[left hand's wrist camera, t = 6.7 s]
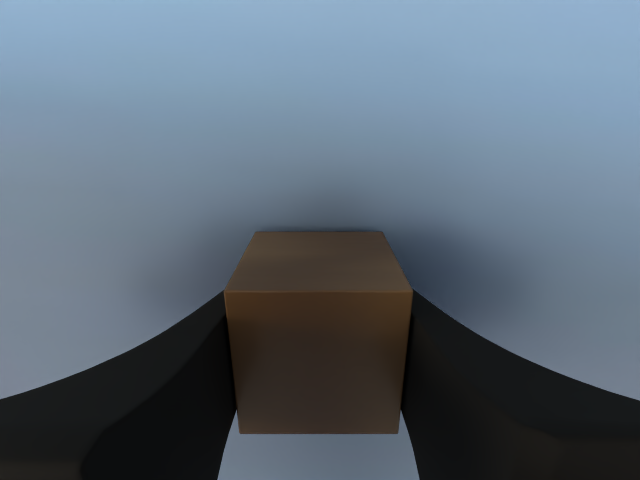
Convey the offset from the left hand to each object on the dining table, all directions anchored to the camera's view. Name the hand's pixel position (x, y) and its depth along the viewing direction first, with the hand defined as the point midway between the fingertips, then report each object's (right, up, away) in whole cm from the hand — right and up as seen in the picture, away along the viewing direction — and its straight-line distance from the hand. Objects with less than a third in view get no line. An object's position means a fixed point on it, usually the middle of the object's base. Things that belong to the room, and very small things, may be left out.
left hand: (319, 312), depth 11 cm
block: (0, +1, +1) cm, 1 cm away
